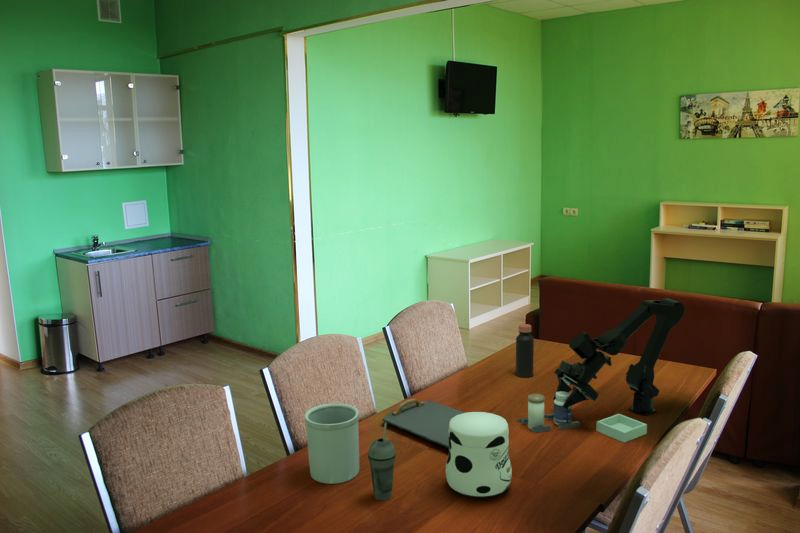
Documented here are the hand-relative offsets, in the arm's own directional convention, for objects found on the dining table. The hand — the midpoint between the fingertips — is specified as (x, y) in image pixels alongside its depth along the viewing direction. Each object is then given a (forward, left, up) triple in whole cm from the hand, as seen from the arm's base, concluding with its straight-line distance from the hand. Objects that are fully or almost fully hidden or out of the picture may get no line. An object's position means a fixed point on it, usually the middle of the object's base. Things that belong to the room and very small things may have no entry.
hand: (558, 404), depth 218 cm
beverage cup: (+71, +5, -7) cm, 71 cm away
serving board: (+33, -19, -7) cm, 39 cm away
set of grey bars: (+3, -2, -7) cm, 7 cm away
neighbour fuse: (+8, -2, -7) cm, 10 cm away
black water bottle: (-24, -41, -7) cm, 48 cm away
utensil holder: (+75, -14, -7) cm, 76 cm away
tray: (-10, +16, -7) cm, 20 cm away
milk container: (+48, +16, -7) cm, 51 cm away
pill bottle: (-1, 0, -7) cm, 7 cm away
